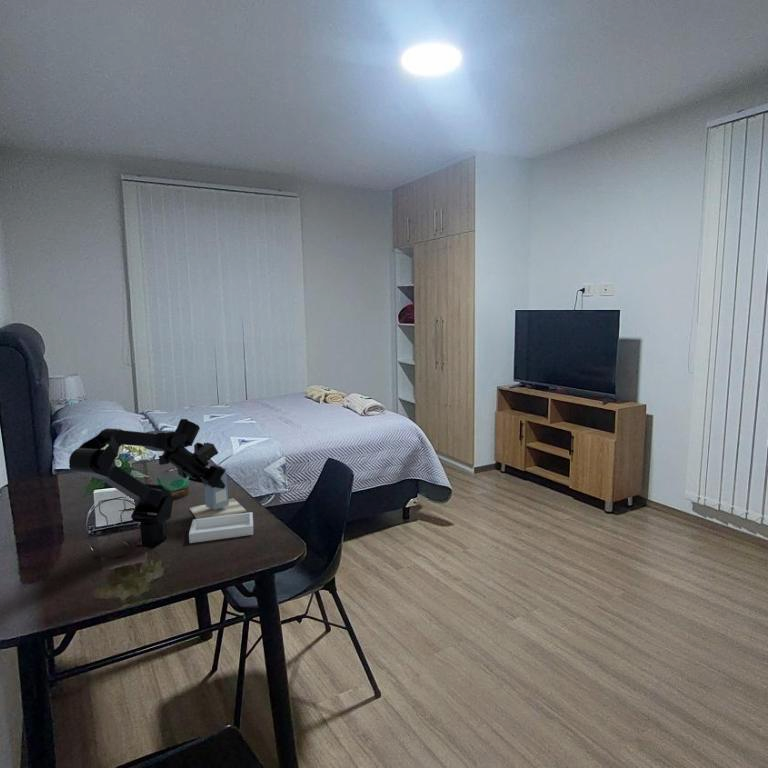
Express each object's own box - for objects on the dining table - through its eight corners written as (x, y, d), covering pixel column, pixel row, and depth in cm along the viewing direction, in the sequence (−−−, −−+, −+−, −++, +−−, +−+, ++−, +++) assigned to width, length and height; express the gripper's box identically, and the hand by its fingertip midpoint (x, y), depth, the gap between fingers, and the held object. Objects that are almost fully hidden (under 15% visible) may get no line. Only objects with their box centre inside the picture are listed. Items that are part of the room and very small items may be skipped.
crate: (189, 544, 140) (188, 534, 140) (193, 529, 150) (193, 519, 150) (253, 536, 144) (252, 525, 143) (253, 521, 154) (252, 512, 154)
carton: (214, 509, 159) (211, 471, 157) (205, 506, 162) (202, 468, 161) (229, 505, 162) (226, 467, 161) (219, 501, 166) (217, 465, 164)
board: (246, 513, 160) (246, 510, 160) (200, 525, 153) (199, 521, 153) (233, 501, 172) (233, 498, 172) (189, 510, 165) (189, 507, 165)
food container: (167, 504, 172) (164, 474, 170) (157, 500, 175) (154, 471, 174) (200, 493, 181) (197, 465, 180) (189, 490, 185) (187, 462, 184)
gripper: (216, 440, 150) (251, 468, 160) (183, 432, 162) (218, 459, 172) (193, 473, 145) (230, 500, 155) (161, 463, 158) (198, 488, 167)
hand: (219, 485), depth 163 cm, fingers closed on carton, 5 cm apart
